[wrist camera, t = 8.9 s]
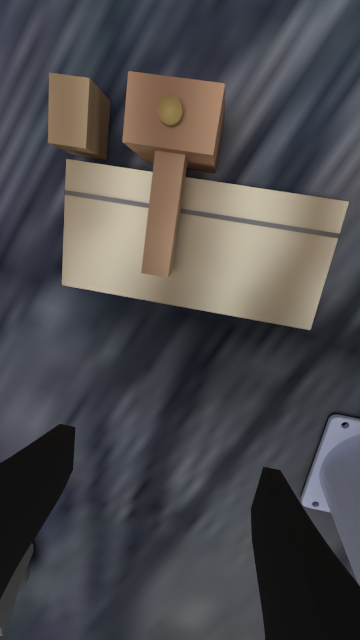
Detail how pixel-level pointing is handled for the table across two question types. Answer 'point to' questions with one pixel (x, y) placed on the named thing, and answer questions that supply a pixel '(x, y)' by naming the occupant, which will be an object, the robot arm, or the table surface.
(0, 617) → the gun
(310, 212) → the board
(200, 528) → the table surface
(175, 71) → the table surface
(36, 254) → the table surface
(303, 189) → the table surface
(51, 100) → the block
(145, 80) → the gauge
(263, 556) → the robot arm
